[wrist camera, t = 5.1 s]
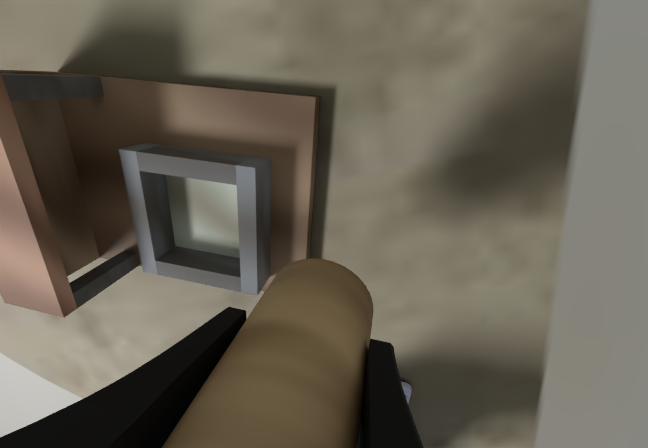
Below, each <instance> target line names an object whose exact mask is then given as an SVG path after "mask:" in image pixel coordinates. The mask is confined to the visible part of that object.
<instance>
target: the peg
mask: <svg viewBox="0 0 648 448" xmlns="http://www.w3.org/2000/svg"><path fill="white" fill-rule="evenodd" d="M372 318H373V303H372V299H371V296H370V293H369V291H368V289H367V287H366V286H365V285H364V283H363V282H362V281H361V280H360V278H359V277H358V276H357V275H355V274H354V273H353V272H352V271H350V270H349V269H347V268H346V267H344V266H342V265H340V264H338V263H335V262H332V261H329V260H325V259H316V258H309V259H302V260H297V261H295V262H292V263H290V264H288V265H286V266H285V267H284V268H282V269H281V270H280V271H279V272H278V273H277V275H276V276H275V278H274V279H273V281H272V282H271V284H270V285H269V287H268V288H267V290H266V291H265V293H264V294H263V296H262V297H261V299H260V300H259V302H258V303H257V305H256V306H255V308H254V309H253V311H252V312H251V314H250V315H249V317H248V318H247V320H246V321H245V323H244V324H243V326H242V327H241V329H240V330H239V332H238V333H237V335H236V336H235V338H234V339H233V341H232V342H231V344H230V345H229V347H228V348H227V350H226V351H225V353H224V354H223V356H222V357H221V359H220V360H219V362H218V363H217V365H216V366H215V368H214V369H213V371H212V372H211V374H210V375H209V377H208V379H207V380H206V382H205V383H204V385H203V386H202V388H201V389H200V391H199V392H198V394H197V395H196V397H195V398H194V400H193V401H192V403H191V404H190V406H189V407H188V409H187V410H186V412H185V413H184V415H183V416H182V418H181V419H180V421H179V422H178V424H177V425H176V427H175V428H174V430H173V431H172V433H171V434H170V436H169V437H168V439H167V440H166V442H165V443H164V445H163V446H162V448H357V447H358V438H359V430H360V421H361V413H362V404H363V395H364V383H365V372H366V364H367V355H368V348H369V343H370V335H371V326H372Z"/></svg>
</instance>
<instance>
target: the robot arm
mask: <svg viewBox="0 0 648 448" xmlns="http://www.w3.org/2000/svg"><path fill="white" fill-rule="evenodd" d="M245 321H246V311H245V310H241V309H236V308H232V307H228V308H226V309H225V310H223V311H222V312H221V313H219V314H218V315H216V316H215V317H213V318H212V319H211V320H209V321H208V322H206V323H205V324H204V325H202V326H201V327H199V328H198V329H197V330H195V331H194V332H192V333H191V334H189V335H188V336H187V337H185V338H184V339H182V340H181V341H179V342H178V343H176V344H175V345H173V346H172V347H170V348H169V349H167V350H166V351H164V352H163V353H161V354H160V355H158V356H157V357H155V358H153V359H152V360H150V361H149V362H147V363H145V364H144V365H142V366H141V367H139V368H138V369H136V370H134V371H133V372H131V373H129V374H128V375H126V376H124V377H123V378H121V379H119V380H117V381H116V382H114V383H112V384H110V385H108V386H107V387H105V388H103V389H101V390H99V391H97V392H95V393H94V394H92V395H90V396H88V397H86V398H84V399H82V400H80V401H78V402H76V403H74V404H72V405H70V406H68V407H66V408H64V409H62V410H59V411H57V412H56V413H53V414H51V415H49V416H47V417H45V418H43V419H41V420H39V421H37V422H34V423H32V424H30V425H28V426H26V427H23V428H21V429H19V430H16V431H14V432H12V433H10V434H7V435H5V436H3V437H1V438H0V448H162V446H163V445H164V443H165V442H166V440H167V439H168V437H169V436H170V434H171V433H172V431H173V430H174V428H175V427H176V425H177V424H178V422H179V421H180V419H181V418H182V416H183V415H184V413H185V412H186V410H187V409H188V407H189V406H190V404H191V403H192V401H193V400H194V398H195V397H196V395H197V394H198V392H199V391H200V389H201V388H202V386H203V385H204V383H205V382H206V380H207V379H208V377H209V375H210V374H211V372H212V371H213V369H214V368H215V366H216V365H217V363H218V362H219V360H220V359H221V357H222V356H223V354H224V353H225V351H226V350H227V348H228V347H229V345H230V344H231V342H232V341H233V339H234V338H235V336H236V335H237V333H238V332H239V330H240V329H241V327H242V326H243V324H244V323H245ZM410 396H411V386H410V385H409V384H408V383H405V382H401V380H400V376H399V372H398V368H397V364H396V359H395V354H394V347H393V346H392V344H391V343H387V342H383V341H378V340H374V339H370V343H369V348H368V355H367V364H366V372H365V383H364V395H363V404H362V413H361V421H360V430H359V438H358V447H357V448H424V447H423V445H422V442H421V440H420V437H419V435H418V432H417V429H416V426H415V424H414V421H413V418H412V415H411V412H410V409H409V406H408V403H409V400H410Z"/></svg>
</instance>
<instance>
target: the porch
mask: <svg viewBox="0 0 648 448" xmlns="http://www.w3.org/2000/svg"><path fill="white" fill-rule="evenodd" d="M319 109H320V96H309V95H299V94H288V93H277V92H266V91H256V90H245V89H234V88H224V87H213V86H202V85H192V84H181V83H170V82H160V81H149V80H138V79H127V78H117V77H106V76H95V75H85V74H74V73H63V72H46V71H18V70H0V293H1V296H2V298H3V300H4V302H5V303H7V304H11V305H15V306H19V307H23V308H27V309H31V310H36V311H40V312H44V313H48V314H52V315H56V316H60V317H65V316H67V315H68V314H70V313H71V312H73V311H74V310H75V309H77V308H78V307H80V306H81V305H83V304H84V303H86V302H87V301H88V300H90V299H91V298H93V297H94V296H96V295H97V294H98V293H100V292H101V291H103V290H104V289H106V288H107V287H109V286H110V285H111V284H113V283H114V282H116V281H117V280H119V279H120V278H121V277H123V276H124V275H126V274H127V273H129V272H130V271H132V270H133V269H134V268H136V267H137V266H142V268H143V272H148V273H152V274H157V275H162V276H167V277H172V278H176V279H181V280H186V281H191V282H196V283H200V284H205V285H210V286H215V287H220V288H224V289H229V290H234V291H239V292H244V293H248V294H253V295H258V294H259V292H260V291H266V290H267V288H268V287H269V285H270V284H271V282H272V281H273V279H274V278H275V276H276V275H277V273H278V272H279V271H280V270H281V269H282V268H284V267H285V266H286V265H288V264H290V263H292V262H295V261H297V260H302V259H309V258H310V247H311V231H312V216H313V201H314V185H315V170H316V155H317V139H318V124H319ZM98 258H105V259H109V260H107V261H106V262H104V263H102V264H101V265H99V266H97V267H96V268H94V269H92V270H91V271H89V272H87V273H86V274H84V275H82V276H81V277H79V278H77V279H76V280H74V281H72V282H71V283H69V281H68V278H67V276H69V275H70V274H72V273H74V272H75V271H77V270H79V269H81V268H82V267H84V266H86V265H88V264H89V263H91V262H93V261H94V260H96V259H98Z"/></svg>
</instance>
